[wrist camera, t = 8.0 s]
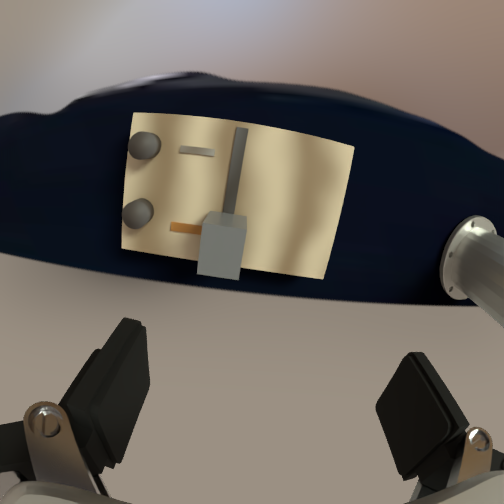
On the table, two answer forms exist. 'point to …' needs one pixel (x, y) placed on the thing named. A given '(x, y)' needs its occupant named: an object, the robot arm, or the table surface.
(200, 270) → the fader tab
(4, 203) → the table surface
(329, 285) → the table surface
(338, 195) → the fader console
